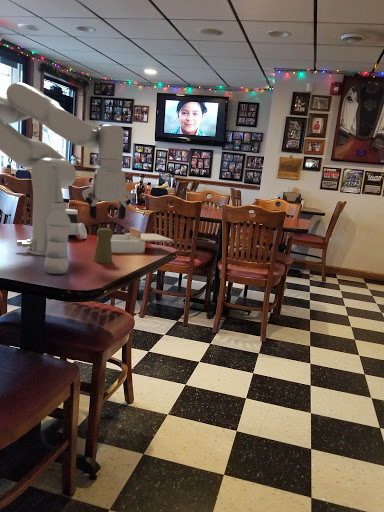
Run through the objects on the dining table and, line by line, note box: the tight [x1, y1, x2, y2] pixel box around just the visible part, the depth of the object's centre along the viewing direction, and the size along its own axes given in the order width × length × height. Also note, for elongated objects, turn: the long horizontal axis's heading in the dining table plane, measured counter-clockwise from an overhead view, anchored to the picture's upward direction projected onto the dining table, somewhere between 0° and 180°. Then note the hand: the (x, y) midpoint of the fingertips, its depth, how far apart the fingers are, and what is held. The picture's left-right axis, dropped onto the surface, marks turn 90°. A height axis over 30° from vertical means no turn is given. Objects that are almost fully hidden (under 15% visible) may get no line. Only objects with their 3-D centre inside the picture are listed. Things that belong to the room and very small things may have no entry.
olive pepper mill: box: [93, 227, 114, 264], centre depth 133 cm, size 6×6×11 cm
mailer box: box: [96, 234, 146, 254], centre depth 157 cm, size 14×14×4 cm
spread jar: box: [65, 208, 88, 240], centre depth 170 cm, size 12×11×12 cm
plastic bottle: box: [43, 201, 71, 275], centre depth 110 cm, size 6×7×20 cm
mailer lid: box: [124, 226, 174, 242], centre depth 163 cm, size 14×14×4 cm
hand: (107, 218), depth 131 cm, fingers open, 9 cm apart
